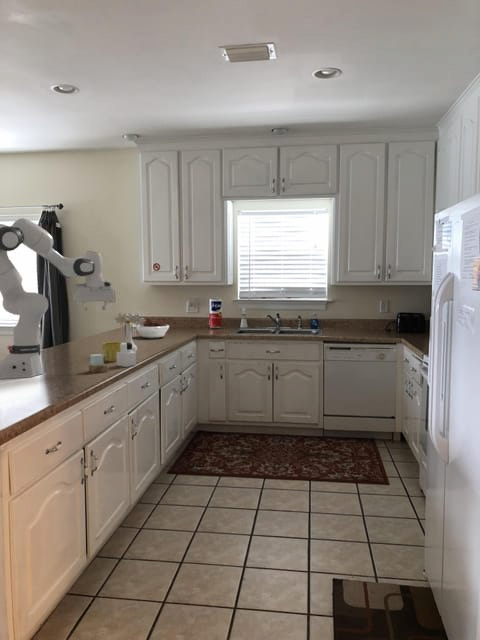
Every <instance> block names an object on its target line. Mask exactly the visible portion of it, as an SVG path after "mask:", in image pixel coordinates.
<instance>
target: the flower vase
mask: <svg viewBox="0 0 480 640" xmlns="http://www.w3.org/2000/svg"><path fill="white" fill-rule="evenodd" d="M114 320H115V321H116V322H115V323H117V324H119V325H120V326H121V327H122V326H123V324H124V325H125V328H126V330H125V331H126V332H125V333H126V334H125V336H126V337H125V341H124V343H132V352H137V351H138V346H137V345H136V344H135V343H134V341H133V338H132V335H133V334H132V328H133V327H132V326H133V324H134V325H138V324H139V325H140V329H141V325H142V327H144V324H143V323H144V322H145V321H147V319H145V315H144V316H143V317H142V318H140V317H139V313H137V314H136V313H134V315H132V314H131V312H129V313H128V316H127V314H126V313H123V314H122V313H121V312H119V313H118V316H117V317H114Z"/></svg>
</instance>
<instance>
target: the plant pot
mask: <svg viewBox="0 0 480 640" xmlns="http://www.w3.org/2000/svg"><path fill="white" fill-rule="evenodd" d="M121 343H122V342H121V341H120V342H117V341H109V342H108V341H107V342H103V343H102V350H103V352H104V356H105V360H106V362H117V352H121V351H120V344H121Z"/></svg>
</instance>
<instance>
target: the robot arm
mask: <svg viewBox="0 0 480 640" xmlns="http://www.w3.org/2000/svg"><path fill="white" fill-rule="evenodd" d="M22 244H23V245H24V246H25V247H26V248H28V249H29V250H31V251H33V252H34V253H36V254H38V255H39V256H41V257H42V258H43V259H44V260H46V261H47V262H49V263H50V264H51V265H52V266H53V267H55V269H57V271H58V273H59V274H60V275H61V276H62V277H64V278H67V279H69V278H70V279H71V278H84V283H76V284H74V285H73V287H72V288H73V292H74V293H73V301H74V302H76V303H78V302H79V303H80V304H81V306H82V309H83V311H84V312H87V311H88V307H87V306H85V304H86V302H87V303H88V302H89V303H90V302H103V306H101V310H102V311H106V308H107V306H108V302H114V300H115V291H114V288H113V283H112V282H111V281H107V280H104V277H103V269H104V268H103V267H104V266H103V259H102V258H103V257H102V254H101V253H99V252H97V251H91V250H89V251H85V252H84V254H82V255H80V256H77V257H66V256H63V255H61V254H60V253H59V252H58V251H56V250H55V249H54V248H53V246H54V238H53V236H52V235H51V234H50V233H49V232H48V231H47V230H45V229H44V228H43V227H42V226H40V225H39V224H36V223H35V222H33V221H31V220H29V219H27V218H19V219H17V220H15V221H14V222H13V224H11V225H10V226H9V225H6V224H3V223H0V294H1V297H2V307H3V309H4V310H5V311H6V312H7V313H10V314H12V315H14V316H15V315H16V316H18V317H19V318H18V321H17V324H16V325H15V326H14V328H13V330H12V331H13V345H8V346H7V350H9V351H8V352H9V353H8V354H7V355H6V356H5V357H3V358H2V359H1V360H0V380H3V379H5V380H6V379H7V380H8V379H19V378H20V379H21V378H23V379H25V378H33V377H36V376H40V375H43V374H44V370H43V366H42V362H41V344H40V325H41V324H40V323H41V320H42V318H43V317H44V316H43V315H44V314H45V313H46V312H47V310H48V308H49V301H48V299H47V297H46V296H45V295H44V294H41V293H39V292H31V291H29V292H28V291H26V290H25V289H24V287H23V285H22V283H23V277H22V275H21V274H20V272H19V270H17V268H16V267H15V265H14V263H13V262H12V261H11V260H10V259H9V256H8V252H12V251H14V250H16V249H18V247H19V246H20V245H22Z"/></svg>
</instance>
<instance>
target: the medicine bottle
mask: <svg viewBox="0 0 480 640" xmlns="http://www.w3.org/2000/svg"><path fill="white" fill-rule="evenodd" d="M120 343H121V344H120V352H117V361H116V366H118V367H123V368H126V367H127V368H129V367H134V366H137V353H136V352H137V351H136V352H132V343H125V342H120Z"/></svg>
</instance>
